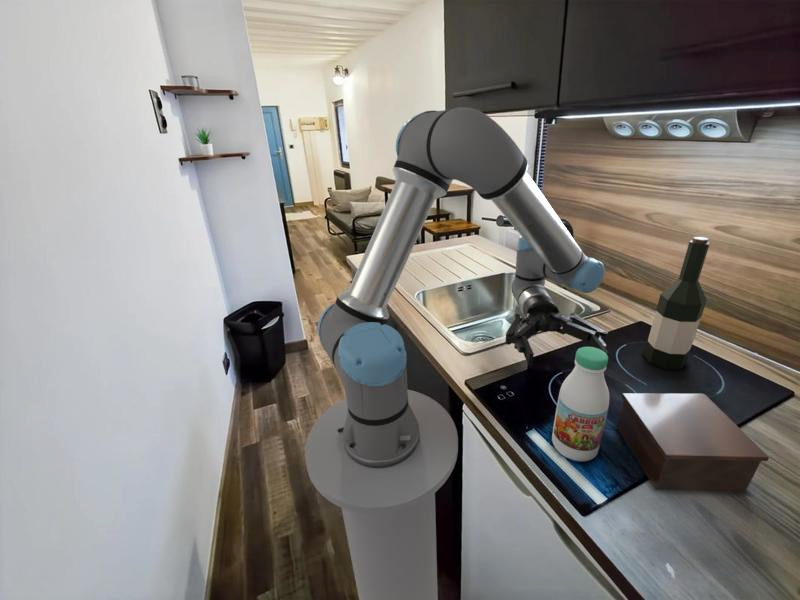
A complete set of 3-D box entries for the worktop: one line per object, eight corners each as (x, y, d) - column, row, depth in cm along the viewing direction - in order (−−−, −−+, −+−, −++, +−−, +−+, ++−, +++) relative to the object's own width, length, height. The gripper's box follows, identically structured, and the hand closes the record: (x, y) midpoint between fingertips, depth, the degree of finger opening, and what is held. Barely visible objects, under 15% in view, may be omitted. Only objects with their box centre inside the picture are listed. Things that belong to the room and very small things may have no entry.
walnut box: (653, 491, 57) (666, 455, 54) (613, 425, 70) (622, 393, 66) (750, 494, 56) (769, 457, 52) (691, 427, 68) (704, 393, 65)
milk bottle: (544, 432, 69) (557, 343, 61) (582, 427, 70) (601, 338, 61) (564, 465, 62) (582, 370, 54) (607, 460, 63) (631, 365, 54)
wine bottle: (635, 353, 90) (666, 235, 78) (662, 347, 92) (697, 231, 79) (665, 372, 83) (704, 246, 70) (694, 365, 85) (738, 241, 72)
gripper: (589, 321, 88) (633, 375, 69) (485, 323, 90) (499, 375, 71) (594, 293, 85) (642, 341, 66) (486, 295, 87) (501, 343, 68)
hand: (568, 359), depth 68 cm, fingers open, 13 cm apart
